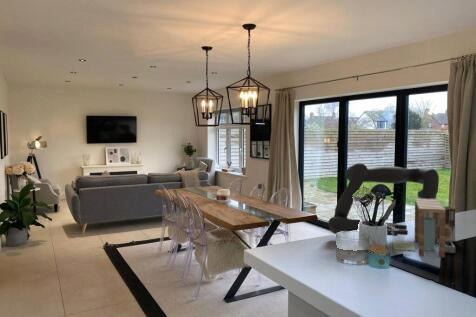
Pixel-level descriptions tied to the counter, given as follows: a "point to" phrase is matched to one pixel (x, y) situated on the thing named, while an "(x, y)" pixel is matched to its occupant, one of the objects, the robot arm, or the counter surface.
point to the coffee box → (448, 223)
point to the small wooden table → (436, 208)
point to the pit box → (449, 247)
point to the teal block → (429, 233)
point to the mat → (403, 245)
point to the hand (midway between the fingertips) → (407, 230)
